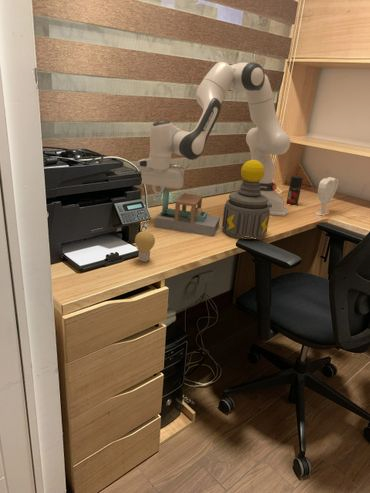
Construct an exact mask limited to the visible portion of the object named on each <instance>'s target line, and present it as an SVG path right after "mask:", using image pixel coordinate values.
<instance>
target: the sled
mask: <svg viewBox="0 0 370 493" xmlns="http://www.w3.org/2000/svg"><path fill="white" fill-rule="evenodd" d="M169 200H170V190H169V189H164V190H163V192H162V204H161V205H162V208H161V209H162V210H161V212H162V213H163V214H172V215H175V208H169ZM207 215H208V212H207V211H203V210H202V214H201V216H199V215H195V220H198V221H204V220H205V219H206V217H207ZM179 216H185V217H188V219H190V218H191V214H190V211H188V210H186V211H182V209H180V212H179Z"/></svg>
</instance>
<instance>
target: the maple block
mask: <svg viewBox="0 0 370 493" xmlns="http://www.w3.org/2000/svg"><path fill="white" fill-rule="evenodd" d="M202 211H203V208H202V207H201V208H197V207H196V212H195V215H199V216H201V214H202ZM189 212H190V214H191V210H190V211H189Z"/></svg>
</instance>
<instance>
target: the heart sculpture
mask: <svg viewBox="0 0 370 493" xmlns="http://www.w3.org/2000/svg"><path fill="white" fill-rule="evenodd" d="M338 185H339V179H338V178H335V177H331V176H328V177H327V178H326V177H325V178H322V179H321V180H320V182H319V183H318V187H317V198H318V200H319V201H320V203H321V207H320V210H319V212H318V211H316V212H315V213H316V214H318V215H324V214H326V213H328V211H329V210H326V208H327V205H329V204H330V202H331V200H333V197H334V196H335V193H336V192H337V189H338ZM325 210H326V211H325ZM326 215H327V214H326ZM324 216H325V215H324Z"/></svg>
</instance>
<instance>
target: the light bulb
mask: <svg viewBox="0 0 370 493" xmlns="http://www.w3.org/2000/svg"><path fill="white" fill-rule="evenodd" d="M134 237H135V238H134V244H135V246H136V248H137V249H138V260H139V261H140V262H148V261H150V259H151V250H152V249H153V248H154V246H155V244H156V243H155V242H156V238H155V236H154V234H153V232H150V231H147V230H142V231H140V232H138V233H137V234H136V235H135V236H134Z"/></svg>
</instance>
